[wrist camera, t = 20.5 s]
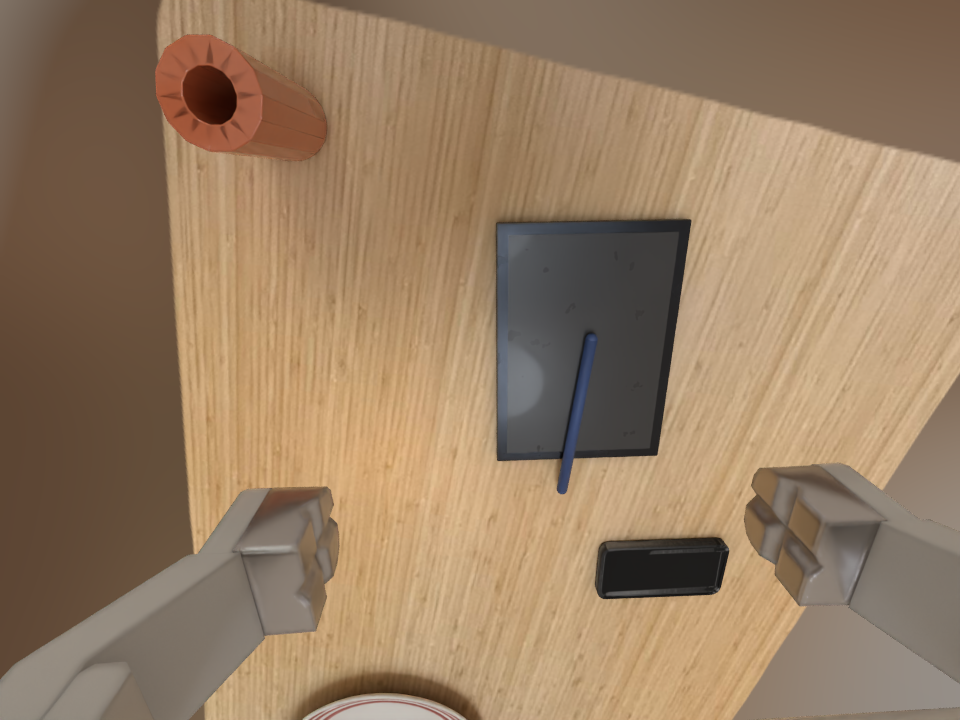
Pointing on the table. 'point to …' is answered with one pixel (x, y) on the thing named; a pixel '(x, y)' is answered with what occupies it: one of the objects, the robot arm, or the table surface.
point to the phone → (660, 568)
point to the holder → (236, 102)
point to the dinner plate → (384, 709)
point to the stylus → (577, 411)
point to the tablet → (585, 333)
